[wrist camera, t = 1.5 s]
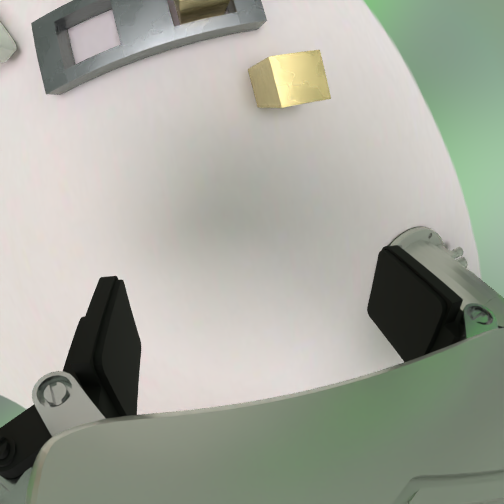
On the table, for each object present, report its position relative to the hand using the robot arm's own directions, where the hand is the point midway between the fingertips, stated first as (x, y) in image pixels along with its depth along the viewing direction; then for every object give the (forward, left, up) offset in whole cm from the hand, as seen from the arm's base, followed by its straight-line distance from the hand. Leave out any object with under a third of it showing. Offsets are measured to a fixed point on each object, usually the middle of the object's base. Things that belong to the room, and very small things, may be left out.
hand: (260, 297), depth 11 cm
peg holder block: (+2, -17, -22) cm, 27 cm away
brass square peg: (-8, -7, -22) cm, 24 cm away
